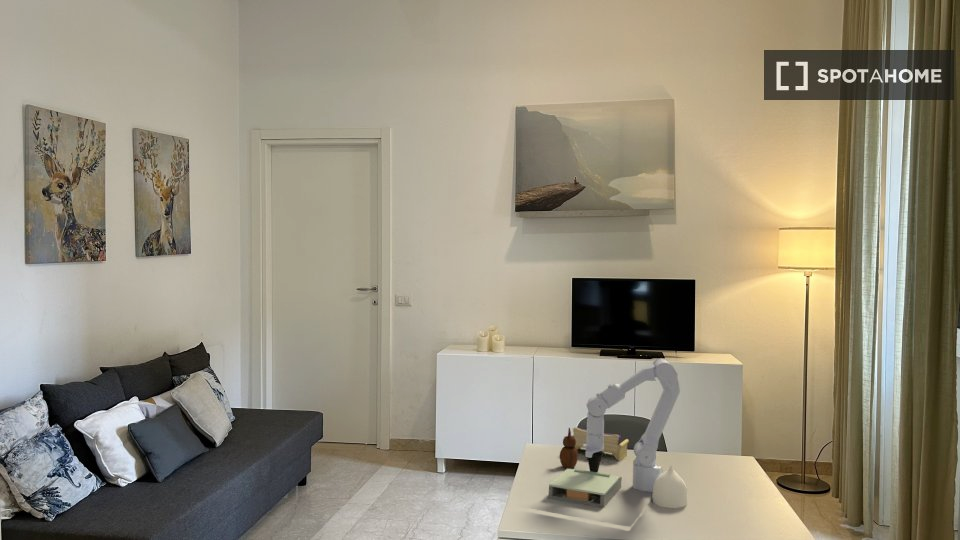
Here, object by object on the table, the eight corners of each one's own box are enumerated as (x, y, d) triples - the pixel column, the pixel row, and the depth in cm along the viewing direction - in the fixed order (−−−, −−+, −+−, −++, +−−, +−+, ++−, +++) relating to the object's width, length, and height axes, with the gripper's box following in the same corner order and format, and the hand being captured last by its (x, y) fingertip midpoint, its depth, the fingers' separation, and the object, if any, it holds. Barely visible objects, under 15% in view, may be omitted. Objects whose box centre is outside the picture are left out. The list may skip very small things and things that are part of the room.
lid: (619, 478, 251) (619, 475, 251) (604, 495, 234) (604, 491, 234) (567, 470, 259) (567, 466, 259) (549, 486, 242) (549, 482, 242)
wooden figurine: (570, 470, 273) (572, 429, 273) (556, 467, 277) (558, 426, 276) (580, 466, 279) (581, 426, 278) (566, 463, 282) (567, 423, 282)
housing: (621, 490, 254) (621, 476, 253) (603, 510, 234) (604, 495, 234) (569, 481, 261) (569, 468, 261) (548, 500, 242) (548, 486, 242)
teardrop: (662, 509, 237) (663, 471, 237) (645, 497, 248) (647, 460, 247) (694, 506, 240) (695, 469, 239) (676, 495, 251) (677, 459, 250)
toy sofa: (628, 456, 294) (629, 430, 293) (620, 462, 286) (621, 435, 286) (578, 447, 304) (579, 422, 304) (569, 453, 297) (570, 426, 296)
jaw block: (590, 499, 242) (591, 489, 241) (587, 502, 239) (588, 492, 239) (569, 495, 245) (570, 485, 244) (566, 498, 242) (566, 488, 242)
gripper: (589, 426, 263) (588, 465, 264) (577, 436, 250) (575, 477, 251) (609, 429, 260) (608, 468, 261) (598, 439, 247) (596, 480, 248)
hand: (593, 473), depth 256 cm, fingers closed
